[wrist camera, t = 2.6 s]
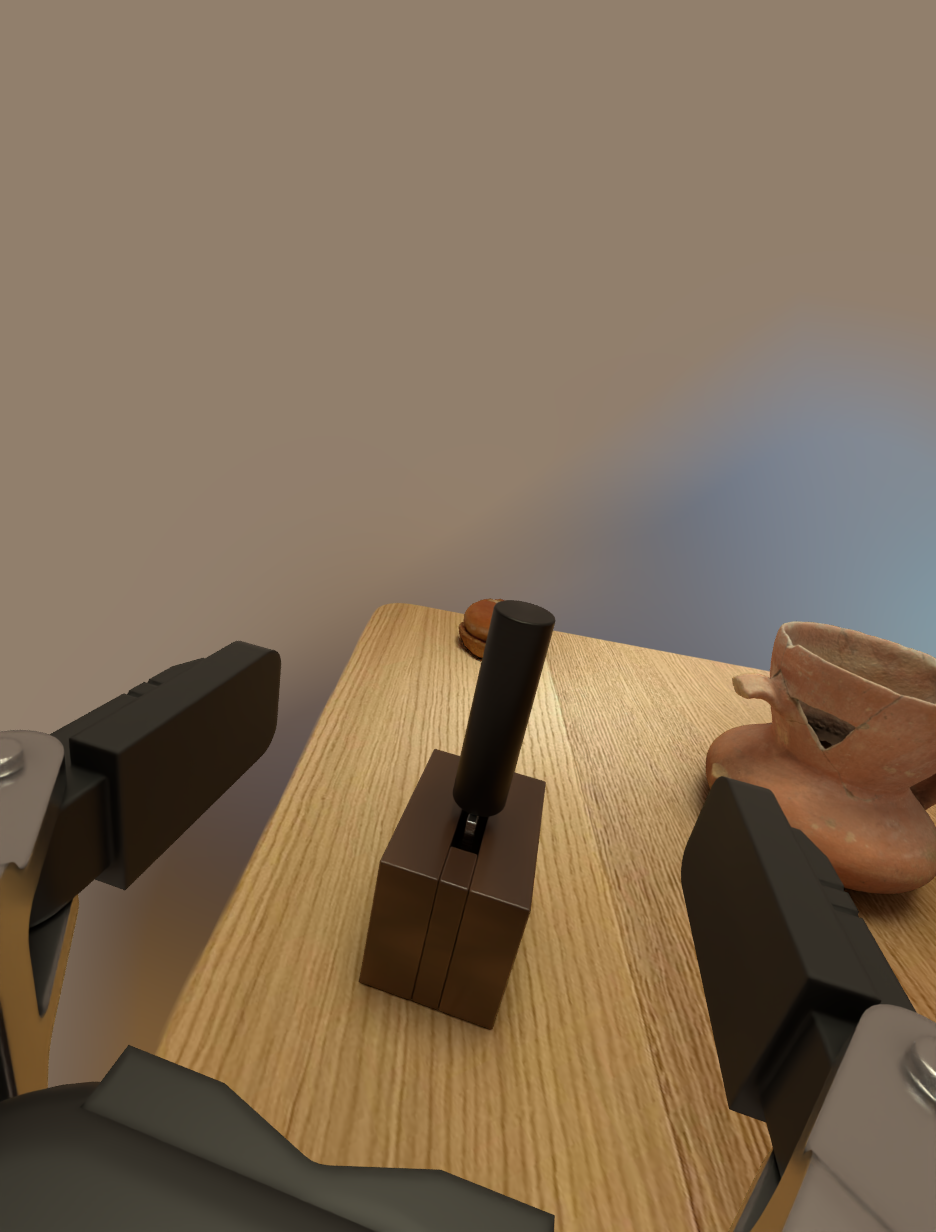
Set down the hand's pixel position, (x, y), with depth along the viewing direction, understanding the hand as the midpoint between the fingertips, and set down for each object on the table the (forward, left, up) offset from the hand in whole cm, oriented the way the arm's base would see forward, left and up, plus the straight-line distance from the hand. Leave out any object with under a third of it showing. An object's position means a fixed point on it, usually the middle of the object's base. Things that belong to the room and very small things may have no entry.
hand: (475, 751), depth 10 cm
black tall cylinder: (+2, +11, -18) cm, 21 cm away
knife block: (+2, +11, -18) cm, 21 cm away
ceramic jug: (+28, +22, -18) cm, 40 cm away
